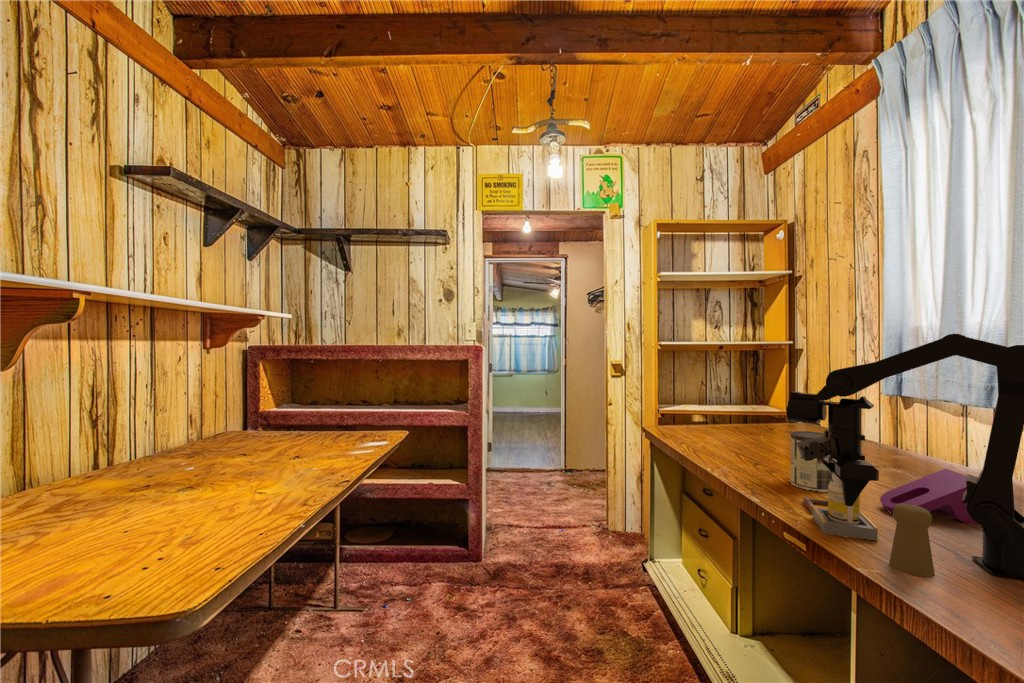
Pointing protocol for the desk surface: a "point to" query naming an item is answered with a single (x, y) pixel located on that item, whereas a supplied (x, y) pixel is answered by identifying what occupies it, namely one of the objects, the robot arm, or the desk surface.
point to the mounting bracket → (932, 494)
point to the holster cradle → (810, 502)
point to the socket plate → (845, 526)
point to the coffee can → (808, 466)
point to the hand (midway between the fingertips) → (844, 501)
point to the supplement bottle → (841, 504)
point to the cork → (912, 541)
